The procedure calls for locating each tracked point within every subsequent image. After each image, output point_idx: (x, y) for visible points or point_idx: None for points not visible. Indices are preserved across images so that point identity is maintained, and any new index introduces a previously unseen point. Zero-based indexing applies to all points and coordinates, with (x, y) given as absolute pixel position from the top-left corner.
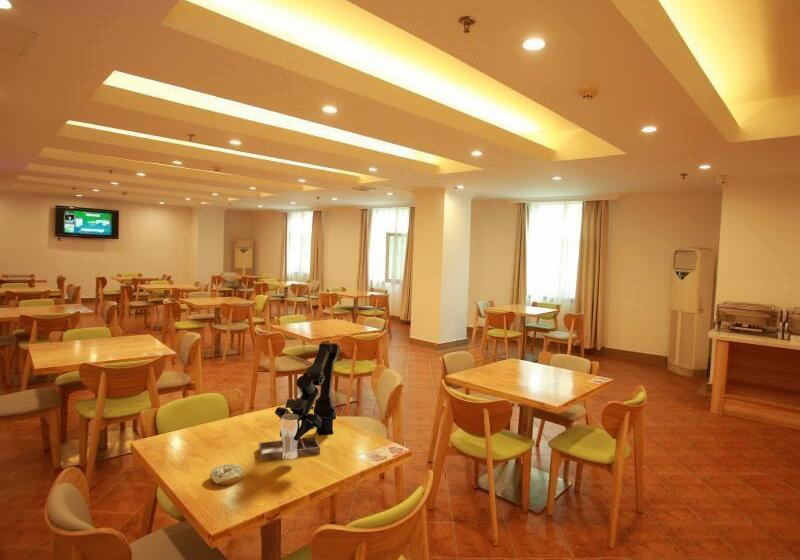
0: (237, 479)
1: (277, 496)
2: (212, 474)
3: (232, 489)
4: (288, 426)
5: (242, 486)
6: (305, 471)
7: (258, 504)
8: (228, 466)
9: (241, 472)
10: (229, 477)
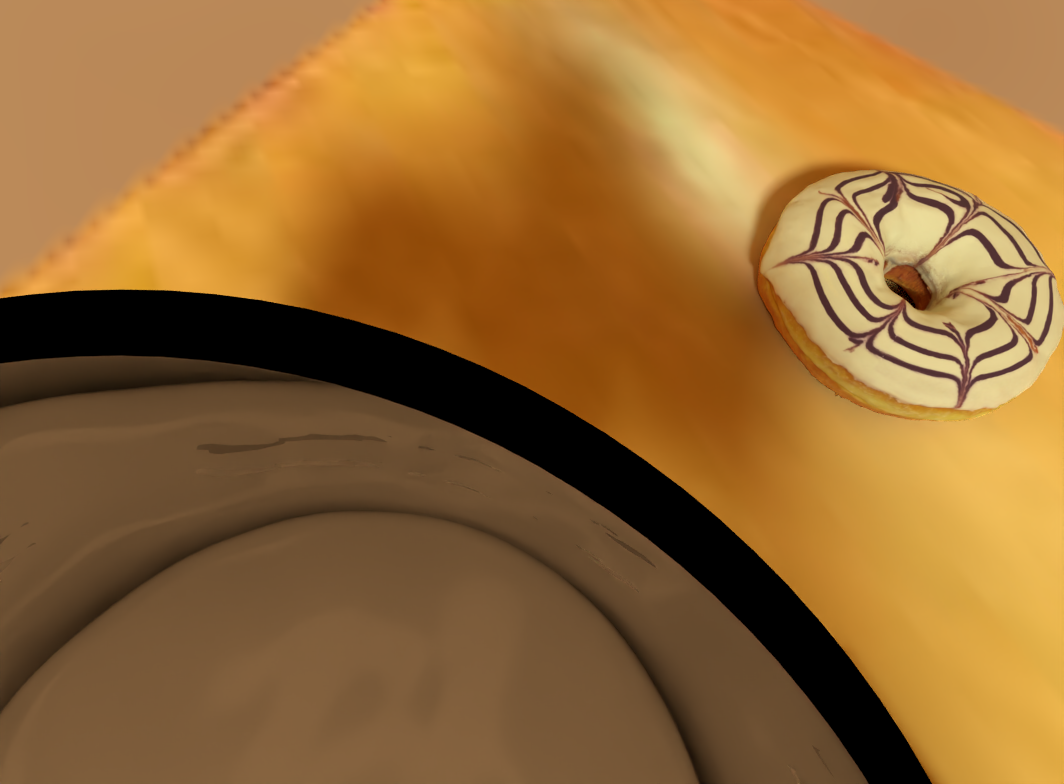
0: (763, 256)
1: (350, 153)
2: (972, 194)
3: (720, 188)
4: (195, 440)
5: (678, 232)
6: None
7: (443, 64)
8: (965, 320)
9: (787, 291)
10: (814, 189)
